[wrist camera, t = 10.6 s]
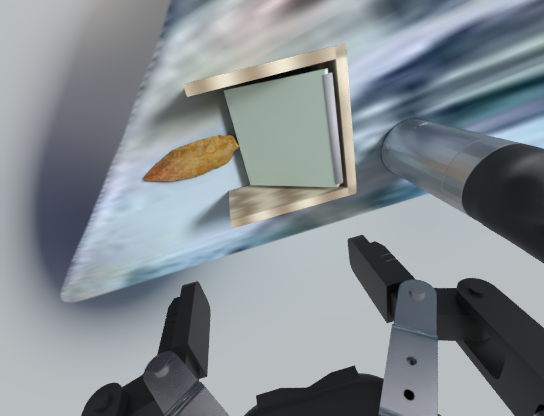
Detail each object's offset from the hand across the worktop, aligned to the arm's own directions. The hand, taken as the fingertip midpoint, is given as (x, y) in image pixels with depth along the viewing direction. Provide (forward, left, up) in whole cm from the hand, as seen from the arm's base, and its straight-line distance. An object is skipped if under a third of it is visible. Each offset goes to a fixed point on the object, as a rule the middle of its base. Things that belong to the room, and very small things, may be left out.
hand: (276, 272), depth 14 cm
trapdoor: (-6, -1, -25) cm, 25 cm away
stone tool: (0, 0, -29) cm, 29 cm away
